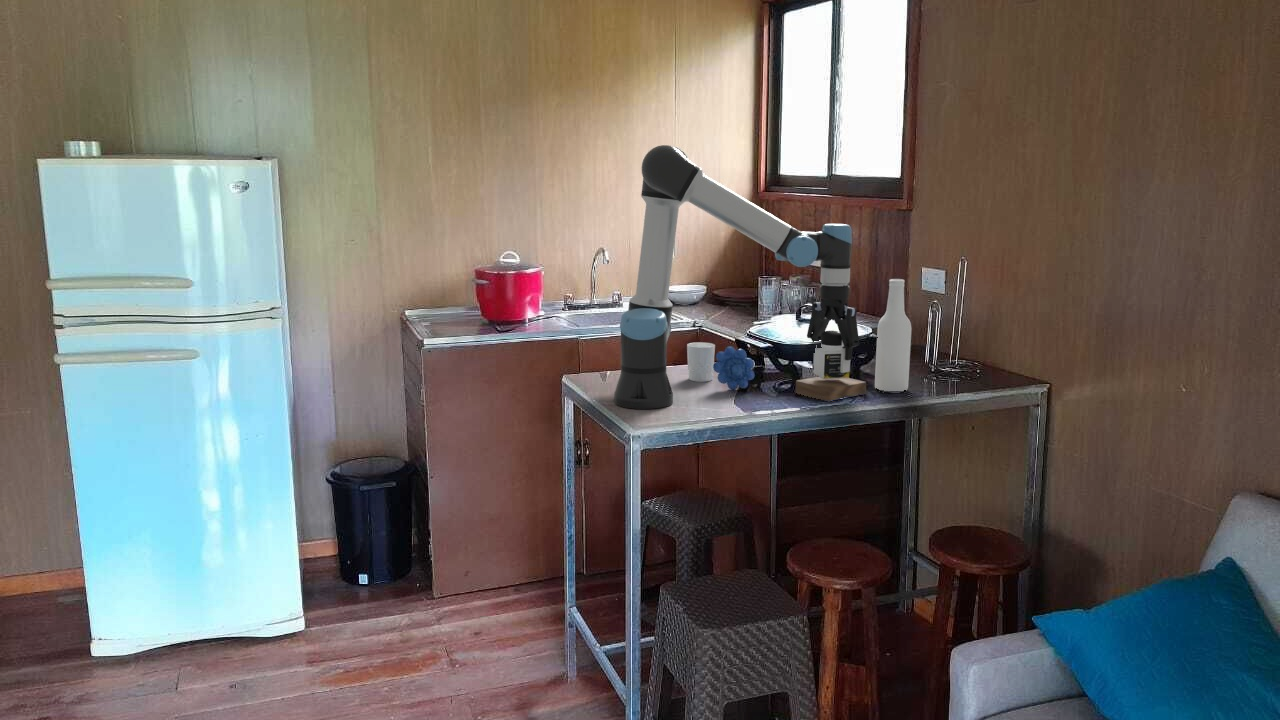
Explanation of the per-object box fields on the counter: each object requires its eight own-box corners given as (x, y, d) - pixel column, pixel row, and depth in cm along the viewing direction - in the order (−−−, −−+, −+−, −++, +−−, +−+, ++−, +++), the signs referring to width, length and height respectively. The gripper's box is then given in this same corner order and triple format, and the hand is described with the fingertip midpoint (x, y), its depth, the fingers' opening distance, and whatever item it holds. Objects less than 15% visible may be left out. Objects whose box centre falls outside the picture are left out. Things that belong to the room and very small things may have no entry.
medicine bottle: (823, 379, 248) (825, 334, 245) (813, 374, 254) (814, 329, 252) (849, 378, 249) (851, 333, 247) (838, 372, 256) (840, 328, 254)
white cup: (715, 382, 267) (715, 347, 265) (687, 382, 267) (687, 347, 265) (713, 376, 274) (714, 342, 272) (686, 376, 274) (686, 342, 272)
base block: (828, 402, 244) (828, 388, 243) (795, 393, 254) (795, 380, 253) (865, 394, 252) (866, 382, 251) (832, 386, 262) (832, 374, 261)
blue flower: (717, 394, 253) (718, 349, 250) (710, 388, 259) (711, 345, 257) (759, 392, 255) (760, 348, 253) (751, 386, 261) (752, 343, 259)
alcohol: (909, 394, 253) (916, 281, 247) (875, 393, 254) (881, 281, 248) (906, 387, 261) (912, 278, 255) (873, 385, 262) (878, 277, 256)
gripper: (877, 287, 240) (872, 374, 245) (815, 279, 258) (811, 360, 262) (856, 289, 236) (852, 377, 241) (794, 280, 254) (792, 363, 258)
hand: (831, 368), depth 251 cm, fingers open, 9 cm apart
